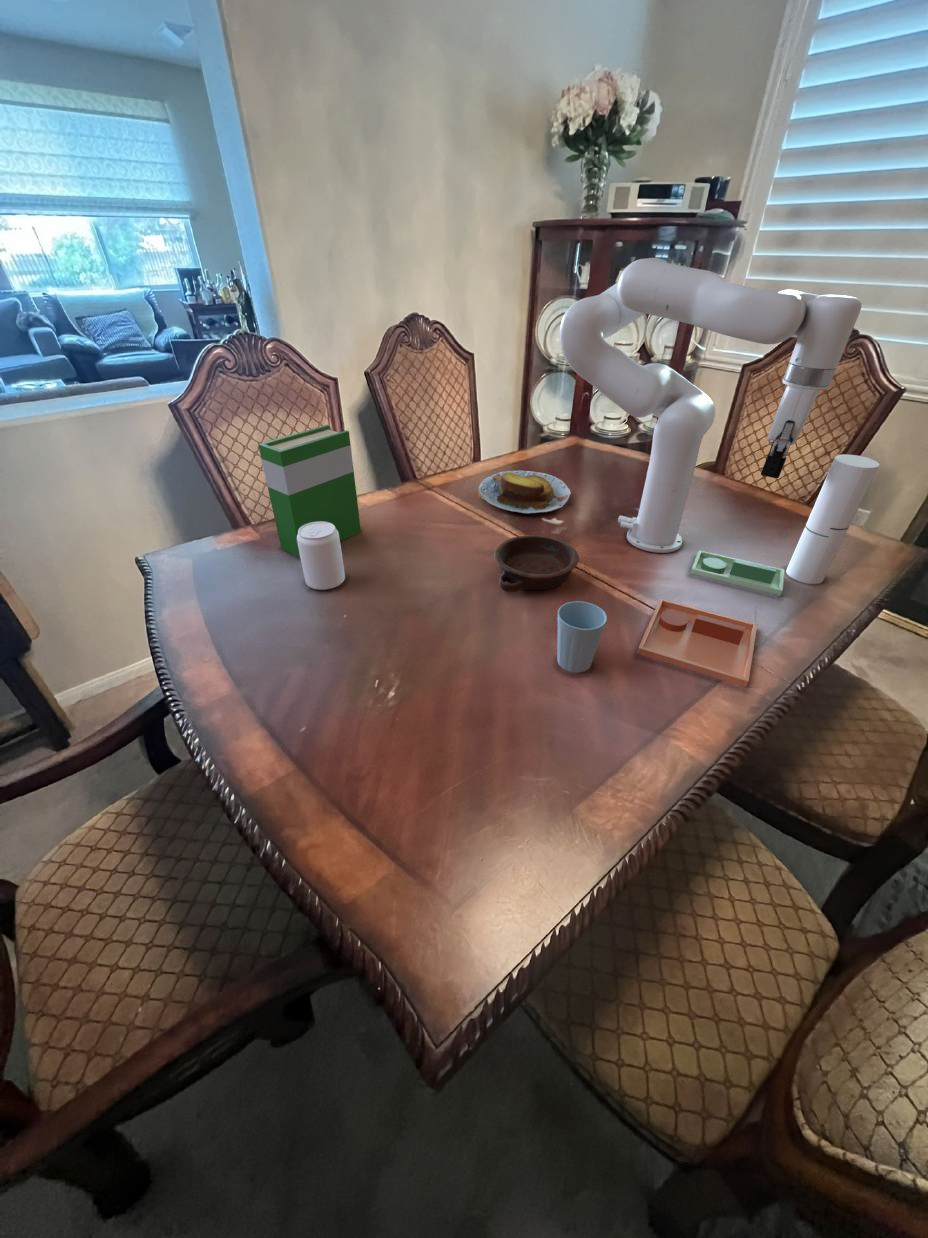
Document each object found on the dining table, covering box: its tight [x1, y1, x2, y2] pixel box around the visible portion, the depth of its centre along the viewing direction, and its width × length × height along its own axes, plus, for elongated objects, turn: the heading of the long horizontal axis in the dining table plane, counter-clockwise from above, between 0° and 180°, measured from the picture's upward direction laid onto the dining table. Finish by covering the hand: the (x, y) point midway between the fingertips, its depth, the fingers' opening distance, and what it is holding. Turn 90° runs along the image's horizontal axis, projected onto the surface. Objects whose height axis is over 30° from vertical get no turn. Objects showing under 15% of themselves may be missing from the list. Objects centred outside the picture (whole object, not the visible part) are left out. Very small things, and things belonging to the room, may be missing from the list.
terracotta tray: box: [636, 597, 758, 688], centre depth 94 cm, size 17×17×2 cm
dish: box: [494, 534, 580, 592], centre depth 111 cm, size 18×22×5 cm
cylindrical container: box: [785, 453, 880, 585], centre depth 106 cm, size 7×7×25 cm
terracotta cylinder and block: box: [659, 610, 745, 645], centre depth 95 cm, size 14×5×3 cm, turn 61°
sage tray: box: [689, 549, 786, 597], centre depth 112 cm, size 17×9×2 cm, turn 62°
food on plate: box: [477, 469, 572, 514], centre depth 143 cm, size 25×25×7 cm
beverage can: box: [297, 521, 346, 591], centre depth 106 cm, size 8×8×12 cm
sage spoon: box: [701, 558, 778, 584], centre depth 111 cm, size 14×5×3 cm, turn 62°
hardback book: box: [257, 424, 362, 560], centre depth 118 cm, size 18×7×24 cm, turn 141°
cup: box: [556, 600, 608, 674], centre depth 86 cm, size 8×8×10 cm
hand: (772, 468), depth 105 cm, fingers open, 9 cm apart
